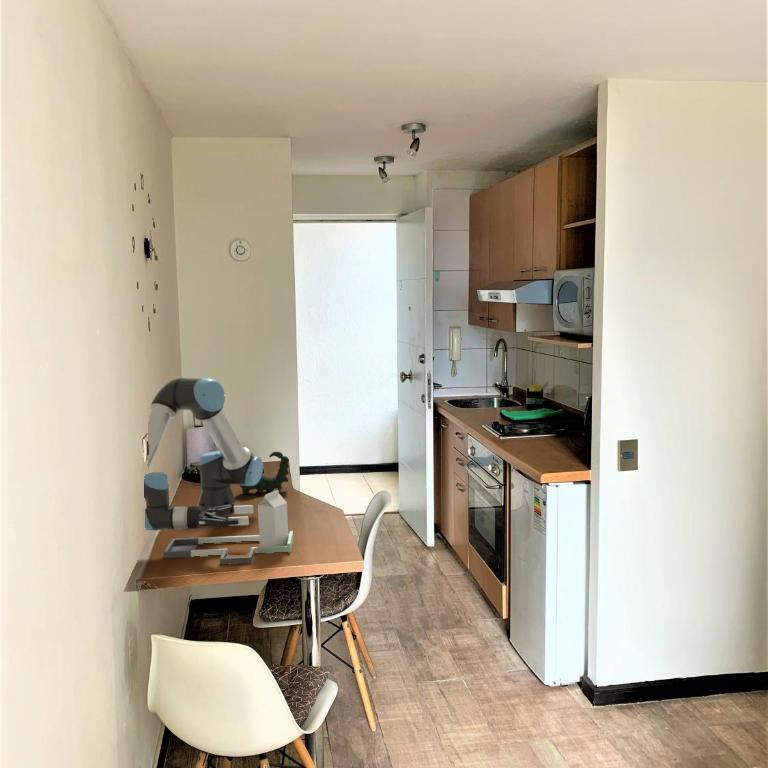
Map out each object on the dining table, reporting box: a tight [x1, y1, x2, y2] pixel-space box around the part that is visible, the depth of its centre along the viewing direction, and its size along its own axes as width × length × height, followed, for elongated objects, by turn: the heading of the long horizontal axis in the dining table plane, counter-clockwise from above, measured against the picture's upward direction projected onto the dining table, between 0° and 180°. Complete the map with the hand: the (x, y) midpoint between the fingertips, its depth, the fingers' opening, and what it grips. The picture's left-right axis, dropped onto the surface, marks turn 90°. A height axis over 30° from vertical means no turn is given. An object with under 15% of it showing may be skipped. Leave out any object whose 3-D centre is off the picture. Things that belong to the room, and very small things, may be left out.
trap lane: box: [162, 530, 294, 565], centre depth 259 cm, size 23×42×3 cm, turn 93°
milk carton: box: [257, 489, 289, 547], centre depth 263 cm, size 7×7×19 cm
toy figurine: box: [238, 451, 290, 495], centre depth 336 cm, size 9×19×25 cm
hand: (250, 514), depth 263 cm, fingers open, 13 cm apart
